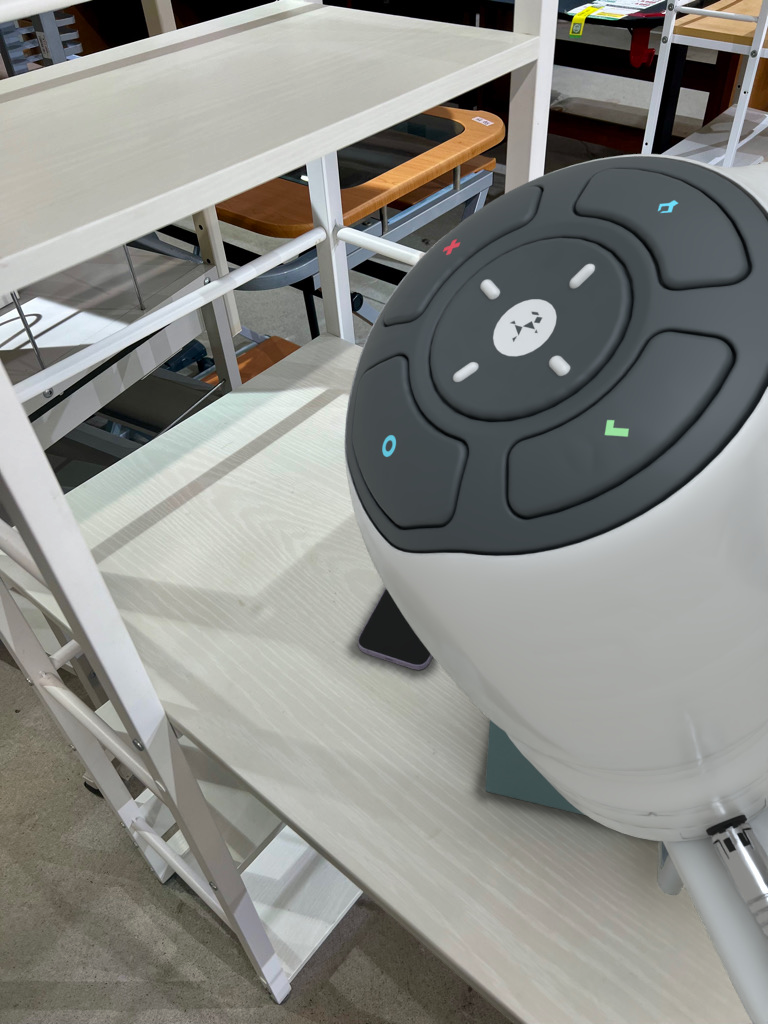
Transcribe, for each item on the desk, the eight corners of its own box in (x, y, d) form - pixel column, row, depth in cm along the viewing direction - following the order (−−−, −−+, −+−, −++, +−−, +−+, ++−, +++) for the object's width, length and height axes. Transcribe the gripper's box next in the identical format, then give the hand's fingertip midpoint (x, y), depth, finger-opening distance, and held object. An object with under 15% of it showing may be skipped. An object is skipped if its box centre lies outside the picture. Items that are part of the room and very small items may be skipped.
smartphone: (353, 645, 70) (413, 536, 80) (354, 652, 71) (413, 543, 81) (424, 669, 68) (478, 553, 77) (425, 675, 69) (478, 561, 78)
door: (697, 923, 52) (760, 823, 41) (470, 863, 56) (474, 757, 45) (696, 829, 57) (753, 717, 46) (487, 779, 60) (494, 666, 50)
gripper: (1014, 1041, 16) (913, 1025, 27) (599, 419, 29) (643, 576, 40) (737, 1132, 17) (746, 1082, 28) (454, 492, 30) (534, 626, 41)
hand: (683, 781), depth 34 cm, fingers open, 8 cm apart
